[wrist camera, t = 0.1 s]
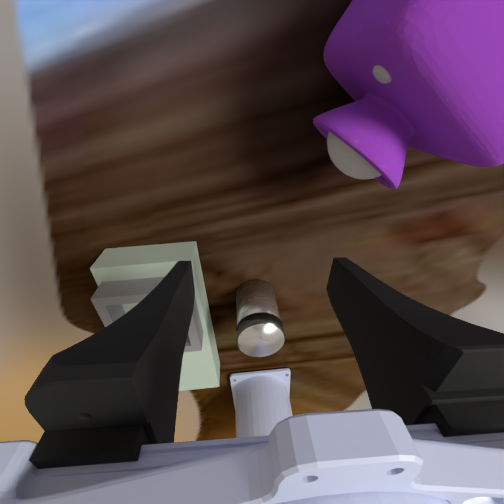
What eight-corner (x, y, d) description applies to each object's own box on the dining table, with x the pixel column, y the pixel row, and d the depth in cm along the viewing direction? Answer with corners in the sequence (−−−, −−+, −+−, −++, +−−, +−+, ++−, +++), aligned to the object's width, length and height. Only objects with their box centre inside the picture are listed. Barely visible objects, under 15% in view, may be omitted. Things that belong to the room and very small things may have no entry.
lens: (275, 307, 28) (285, 355, 23) (236, 311, 28) (238, 359, 23) (274, 277, 26) (286, 322, 21) (233, 280, 26) (234, 327, 21)
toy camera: (272, 131, 19) (308, 165, 10) (402, -147, 13) (752, -623, 4) (384, 189, 22) (481, 252, 14) (532, -11, 16) (883, -125, 7)
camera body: (219, 363, 33) (218, 404, 29) (156, 370, 32) (145, 412, 28) (196, 241, 23) (188, 275, 19) (105, 248, 23) (77, 284, 19)
